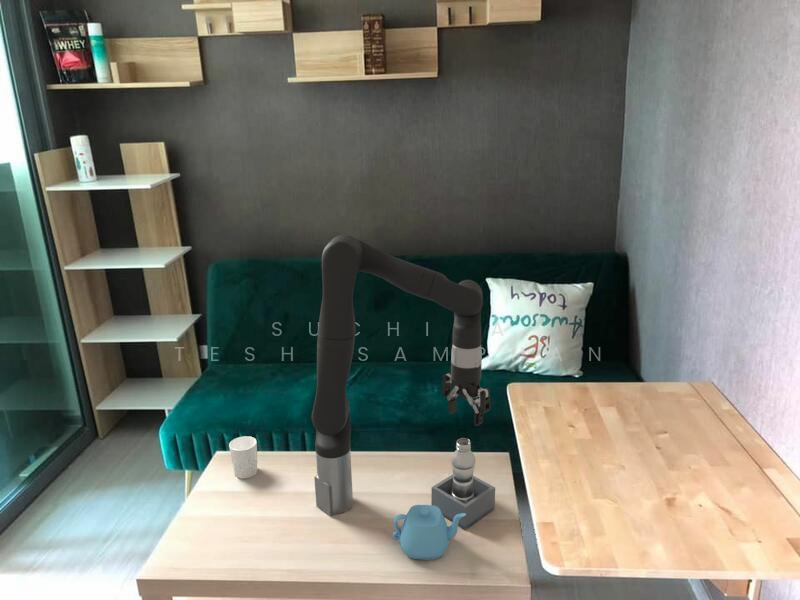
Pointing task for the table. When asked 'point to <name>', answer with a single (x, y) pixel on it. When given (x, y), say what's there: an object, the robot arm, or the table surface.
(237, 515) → the table surface
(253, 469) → the white cup
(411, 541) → the teapot
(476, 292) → the robot arm
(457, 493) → the plastic bottle
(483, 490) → the gray square open box
